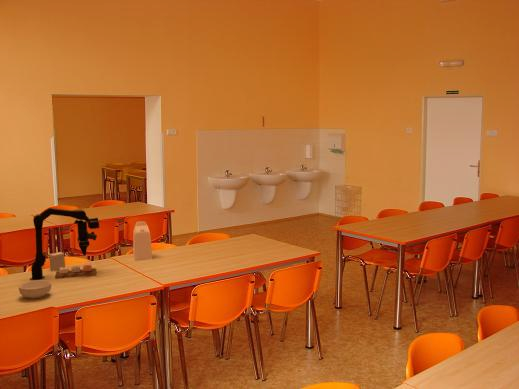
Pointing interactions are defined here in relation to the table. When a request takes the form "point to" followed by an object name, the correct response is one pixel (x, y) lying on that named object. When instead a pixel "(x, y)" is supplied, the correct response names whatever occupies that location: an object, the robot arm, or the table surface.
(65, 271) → the tile one pip
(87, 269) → the tile three pip
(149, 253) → the milk
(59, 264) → the small box
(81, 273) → the tile tray
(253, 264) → the table surface
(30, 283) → the cereal bowl
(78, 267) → the tile two pip
